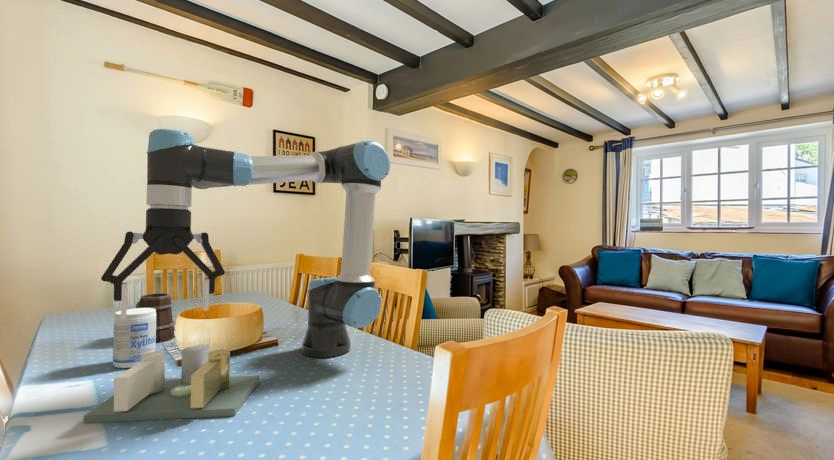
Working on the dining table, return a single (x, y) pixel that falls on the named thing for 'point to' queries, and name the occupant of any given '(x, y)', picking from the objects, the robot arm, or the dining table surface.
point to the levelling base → (180, 396)
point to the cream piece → (140, 381)
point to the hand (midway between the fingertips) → (166, 313)
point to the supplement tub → (133, 336)
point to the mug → (160, 314)
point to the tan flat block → (210, 378)
